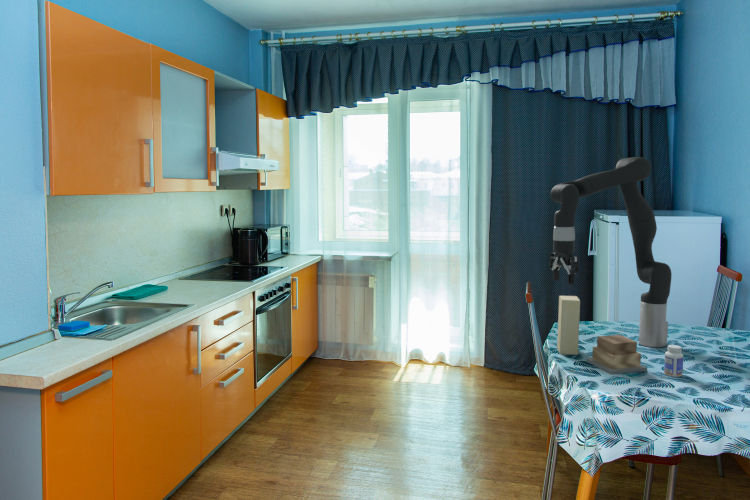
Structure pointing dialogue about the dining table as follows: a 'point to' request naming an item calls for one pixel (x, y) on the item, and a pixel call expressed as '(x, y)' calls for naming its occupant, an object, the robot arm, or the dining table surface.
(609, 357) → the brown block
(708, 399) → the dining table surface
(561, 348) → the tall beige block
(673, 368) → the pill bottle
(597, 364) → the base plate
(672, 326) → the dining table surface
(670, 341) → the dining table surface
